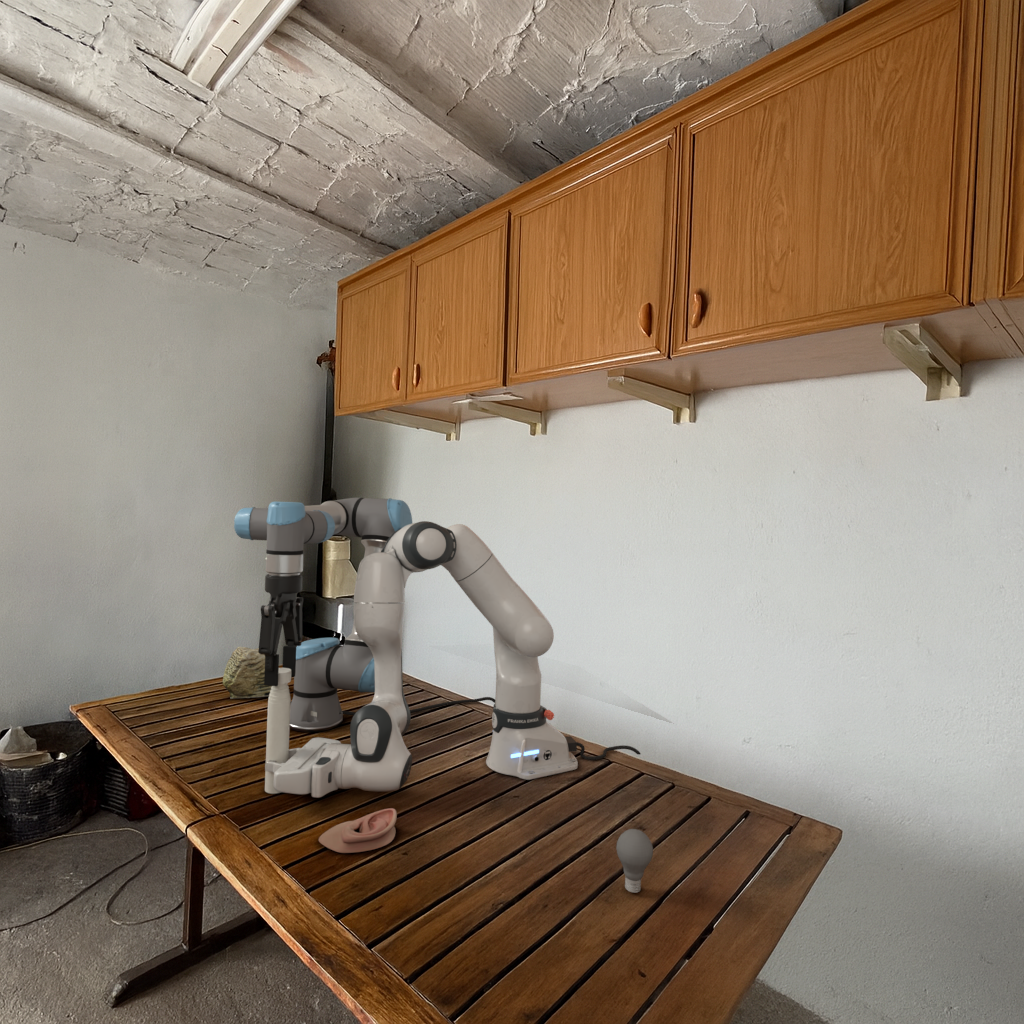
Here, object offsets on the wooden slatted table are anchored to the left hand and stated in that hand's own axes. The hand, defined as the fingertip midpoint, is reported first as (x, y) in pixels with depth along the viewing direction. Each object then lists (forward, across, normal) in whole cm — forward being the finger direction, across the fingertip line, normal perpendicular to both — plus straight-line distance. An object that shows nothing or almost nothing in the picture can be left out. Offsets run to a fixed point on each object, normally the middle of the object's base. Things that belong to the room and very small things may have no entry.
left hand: (280, 680), depth 136 cm
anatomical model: (+24, +14, +25) cm, 37 cm away
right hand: (+17, 0, -1) cm, 17 cm away
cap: (-2, 0, 0) cm, 2 cm away
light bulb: (+24, +19, +75) cm, 81 cm away
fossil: (+24, -56, -39) cm, 72 cm away
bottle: (+24, 0, 0) cm, 24 cm away
